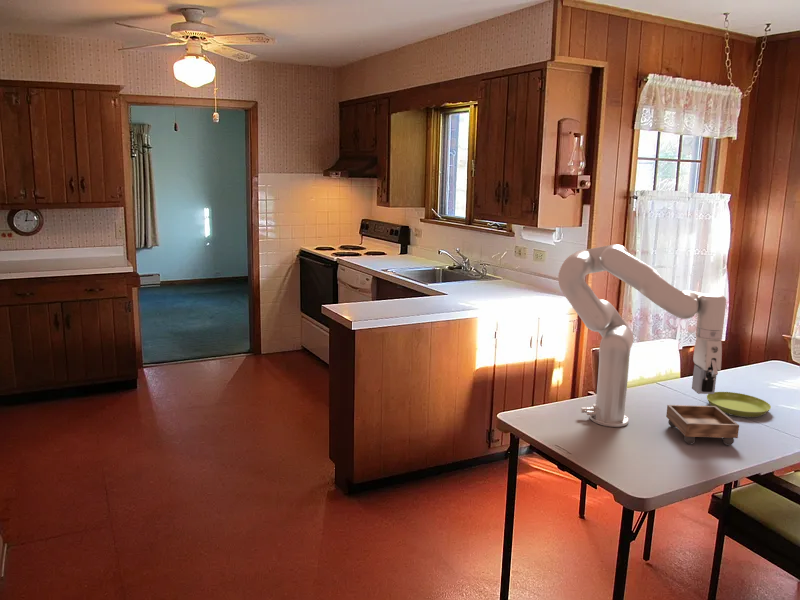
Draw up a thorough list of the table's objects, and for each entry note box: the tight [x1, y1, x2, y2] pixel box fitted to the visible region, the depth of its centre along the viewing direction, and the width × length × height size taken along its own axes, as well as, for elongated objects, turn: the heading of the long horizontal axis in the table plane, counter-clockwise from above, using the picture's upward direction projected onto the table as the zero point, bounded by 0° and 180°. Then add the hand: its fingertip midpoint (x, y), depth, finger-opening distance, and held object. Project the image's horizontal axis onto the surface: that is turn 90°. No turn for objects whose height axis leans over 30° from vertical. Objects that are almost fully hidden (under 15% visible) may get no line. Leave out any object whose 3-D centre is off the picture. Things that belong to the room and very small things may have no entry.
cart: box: [665, 404, 740, 446], centre depth 208 cm, size 16×16×7 cm
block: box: [691, 364, 717, 395], centre depth 205 cm, size 5×5×8 cm
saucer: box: [706, 391, 772, 418], centre depth 233 cm, size 21×21×3 cm
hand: (703, 387), depth 205 cm, fingers closed on block, 5 cm apart
